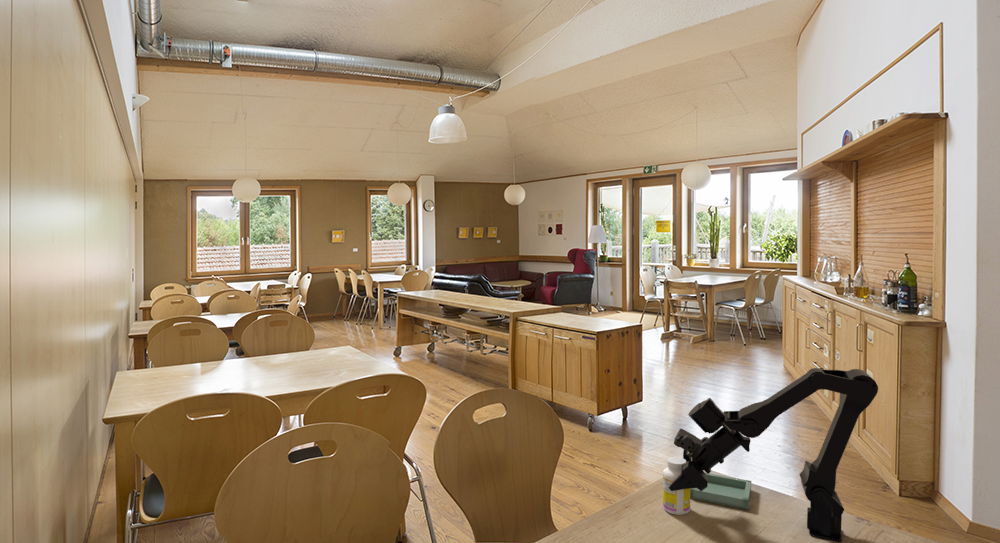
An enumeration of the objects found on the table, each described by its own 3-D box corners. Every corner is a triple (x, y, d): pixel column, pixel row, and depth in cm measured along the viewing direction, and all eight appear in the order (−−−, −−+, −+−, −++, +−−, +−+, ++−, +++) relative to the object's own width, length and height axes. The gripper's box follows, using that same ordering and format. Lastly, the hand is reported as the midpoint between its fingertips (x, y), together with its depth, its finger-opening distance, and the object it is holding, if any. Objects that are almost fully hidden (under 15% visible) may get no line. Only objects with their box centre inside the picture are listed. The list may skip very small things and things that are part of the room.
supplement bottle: (686, 503, 148) (687, 455, 147) (692, 516, 142) (693, 466, 141) (660, 502, 149) (661, 454, 148) (665, 515, 142) (665, 465, 141)
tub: (751, 489, 156) (751, 480, 156) (747, 509, 145) (748, 500, 145) (695, 479, 162) (696, 471, 162) (688, 498, 151) (688, 488, 151)
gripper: (695, 410, 151) (651, 445, 155) (693, 434, 133) (644, 473, 138) (726, 442, 149) (681, 477, 153) (728, 471, 131) (677, 510, 136)
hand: (670, 483), depth 145 cm, fingers closed on supplement bottle, 6 cm apart
